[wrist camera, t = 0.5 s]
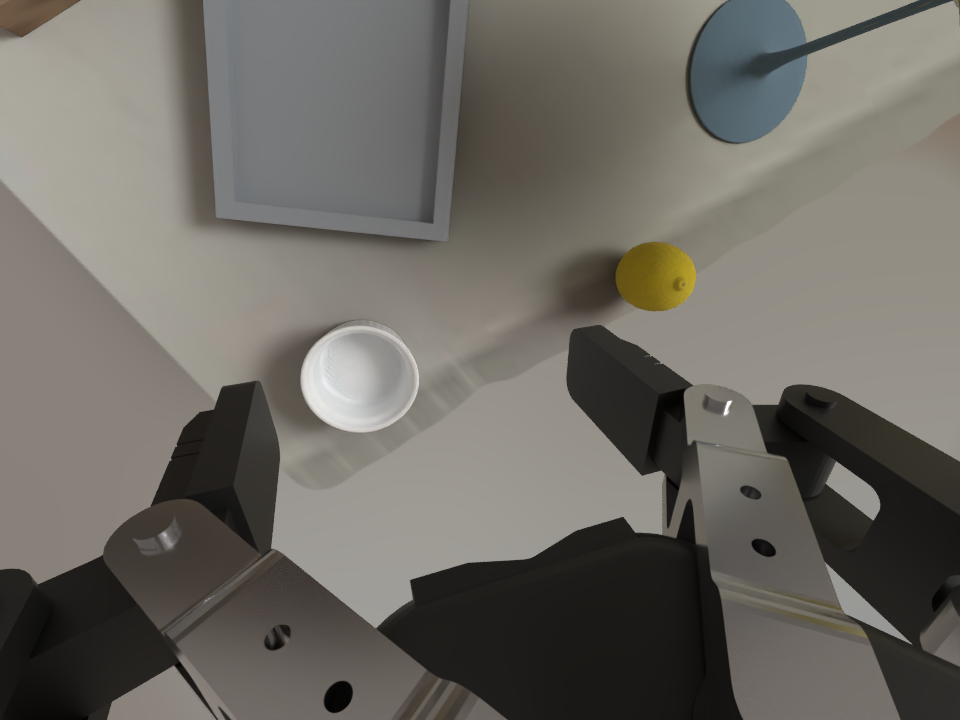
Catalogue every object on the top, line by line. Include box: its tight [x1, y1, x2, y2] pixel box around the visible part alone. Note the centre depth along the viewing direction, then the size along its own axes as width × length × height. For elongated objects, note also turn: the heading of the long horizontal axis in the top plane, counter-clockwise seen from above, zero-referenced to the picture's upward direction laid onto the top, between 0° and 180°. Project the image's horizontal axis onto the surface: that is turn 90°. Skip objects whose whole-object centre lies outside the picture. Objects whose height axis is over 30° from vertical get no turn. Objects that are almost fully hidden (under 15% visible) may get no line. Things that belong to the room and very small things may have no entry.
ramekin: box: [300, 320, 419, 433], centre depth 37 cm, size 9×9×4 cm
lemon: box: [616, 242, 696, 311], centre depth 37 cm, size 6×6×8 cm
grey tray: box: [203, 0, 469, 242], centre depth 31 cm, size 18×16×2 cm
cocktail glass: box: [689, 0, 960, 143], centre depth 26 cm, size 18×18×25 cm
